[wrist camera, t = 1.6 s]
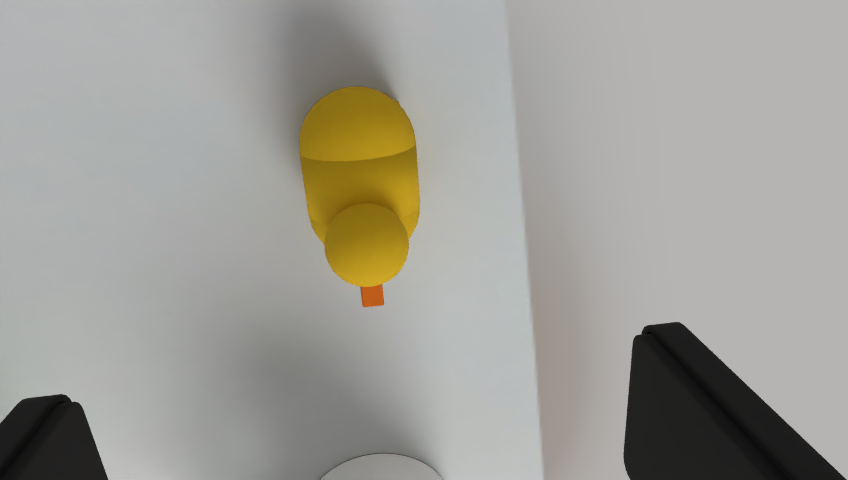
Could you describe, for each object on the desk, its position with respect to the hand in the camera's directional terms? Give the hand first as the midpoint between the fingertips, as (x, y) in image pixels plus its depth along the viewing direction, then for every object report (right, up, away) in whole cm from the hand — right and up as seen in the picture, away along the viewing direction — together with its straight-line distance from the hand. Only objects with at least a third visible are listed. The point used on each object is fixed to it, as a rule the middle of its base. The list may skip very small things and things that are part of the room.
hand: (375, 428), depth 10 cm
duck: (-2, +7, +15) cm, 16 cm away
